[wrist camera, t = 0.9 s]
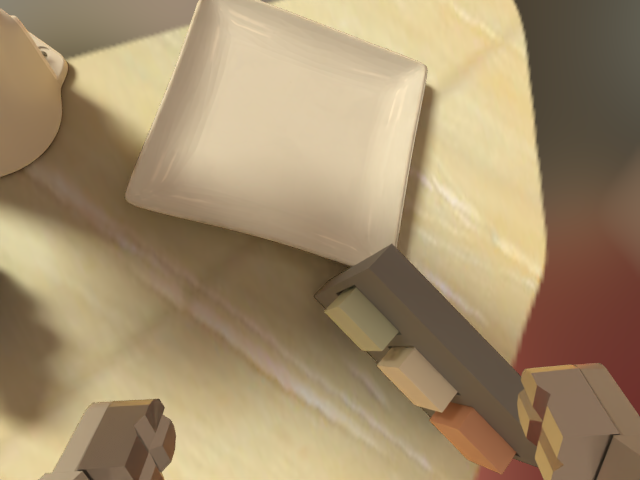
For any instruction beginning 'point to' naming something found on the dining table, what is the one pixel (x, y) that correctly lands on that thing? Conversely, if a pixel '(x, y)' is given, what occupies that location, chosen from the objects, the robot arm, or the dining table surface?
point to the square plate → (283, 132)
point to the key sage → (361, 320)
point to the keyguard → (439, 340)
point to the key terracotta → (473, 437)
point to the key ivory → (417, 378)
